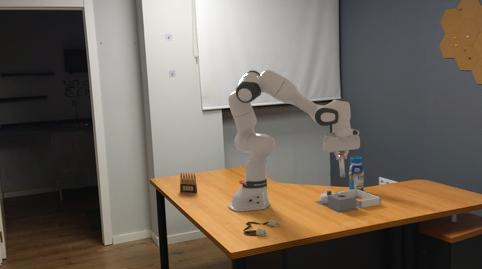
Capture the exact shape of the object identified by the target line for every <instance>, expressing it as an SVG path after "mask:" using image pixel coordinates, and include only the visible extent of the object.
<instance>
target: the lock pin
mask: <svg viewBox="0 0 482 269" xmlns="http://www.w3.org/2000/svg"><path fill="white" fill-rule="evenodd" d="M344 153H345V152H344V151H339V153H338V155H339V156H340V160H338V163H339V164H338V166H339V177H340V178H345V177H346V171H345V170H346V169H345V159H344Z"/></svg>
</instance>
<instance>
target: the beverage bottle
mask: <svg viewBox="0 0 482 269" xmlns="http://www.w3.org/2000/svg"><path fill="white" fill-rule="evenodd" d="M363 160H364V159H363V157H362V156H350V166H349V168H348V169H349V171H348V177H349V179H348V182H349V183H348V186H349V188H348V190H353V189H358V190H361V191H363V192H365V191H364V185H365V183H364V180H365V173H364V170H365V169H364V165H363Z"/></svg>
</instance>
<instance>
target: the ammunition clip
mask: <svg viewBox="0 0 482 269" xmlns="http://www.w3.org/2000/svg"><path fill="white" fill-rule="evenodd" d="M179 175H180V179H179V182H180V184H179V192H180V193H193V194H197V193H198V184H197V179H196V174H195V172H194V173H187V172H186V173H185V172H183V173H182V172H180V174H179Z"/></svg>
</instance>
